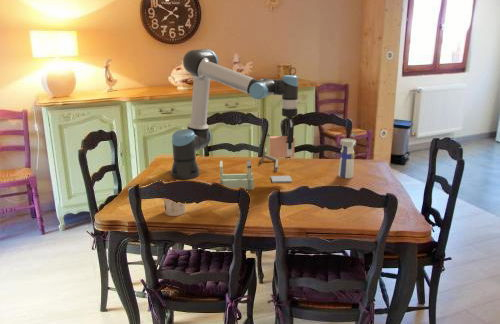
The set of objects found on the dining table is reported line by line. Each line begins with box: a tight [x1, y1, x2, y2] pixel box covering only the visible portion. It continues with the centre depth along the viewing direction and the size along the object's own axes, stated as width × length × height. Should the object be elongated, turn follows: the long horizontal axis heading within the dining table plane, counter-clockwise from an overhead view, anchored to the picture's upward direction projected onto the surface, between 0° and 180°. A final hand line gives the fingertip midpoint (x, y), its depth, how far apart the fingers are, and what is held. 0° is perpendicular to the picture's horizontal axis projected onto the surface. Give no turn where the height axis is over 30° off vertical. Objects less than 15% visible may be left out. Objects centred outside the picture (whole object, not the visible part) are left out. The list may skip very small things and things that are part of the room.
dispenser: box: [219, 159, 255, 191], centre depth 201 cm, size 16×9×12 cm, turn 93°
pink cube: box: [269, 135, 296, 158], centre depth 206 cm, size 12×4×10 cm, turn 93°
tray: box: [270, 175, 293, 184], centre depth 212 cm, size 10×8×1 cm
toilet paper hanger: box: [259, 147, 279, 172], centre depth 235 cm, size 23×9×8 cm, turn 175°
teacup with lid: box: [163, 198, 187, 217], centre depth 171 cm, size 12×9×12 cm
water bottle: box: [337, 131, 357, 179], centre depth 214 cm, size 8×9×25 cm
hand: (288, 153), depth 208 cm, fingers closed on pink cube, 4 cm apart
